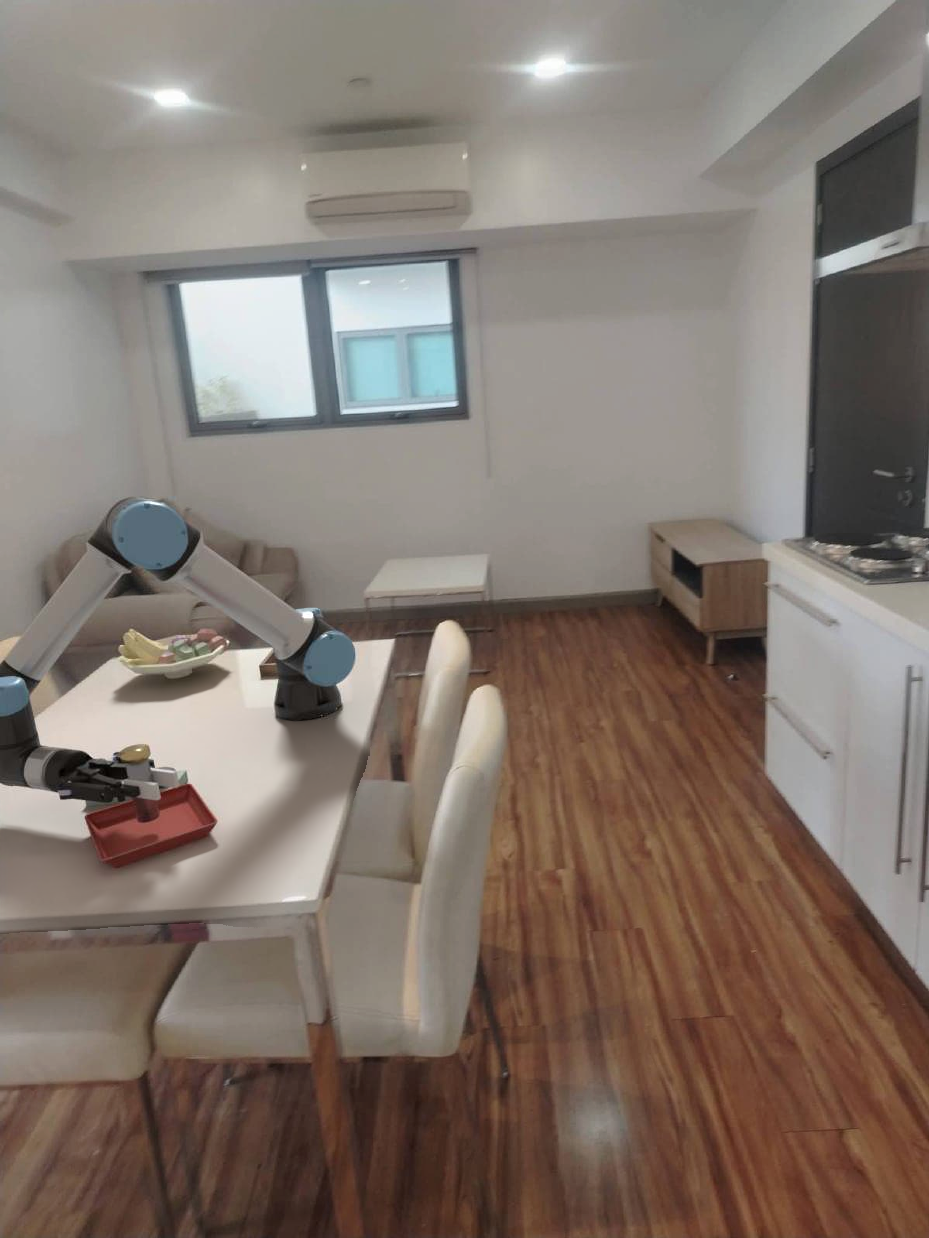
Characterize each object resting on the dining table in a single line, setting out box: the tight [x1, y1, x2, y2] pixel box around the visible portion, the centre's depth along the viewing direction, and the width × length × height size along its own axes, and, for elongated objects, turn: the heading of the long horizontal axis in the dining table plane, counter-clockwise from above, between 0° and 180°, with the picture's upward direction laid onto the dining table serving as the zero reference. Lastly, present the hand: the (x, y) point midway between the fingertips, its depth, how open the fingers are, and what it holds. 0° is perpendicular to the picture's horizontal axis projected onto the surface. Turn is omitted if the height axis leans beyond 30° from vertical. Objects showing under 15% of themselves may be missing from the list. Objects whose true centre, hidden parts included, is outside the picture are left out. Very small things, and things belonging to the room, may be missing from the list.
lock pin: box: [119, 743, 160, 823], centre depth 131 cm, size 5×5×12 cm
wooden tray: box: [258, 648, 277, 677], centre depth 214 cm, size 16×18×3 cm
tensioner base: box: [84, 766, 189, 807], centre depth 147 cm, size 16×8×4 cm, turn 88°
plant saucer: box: [84, 783, 218, 868], centre depth 133 cm, size 18×18×3 cm
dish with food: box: [117, 628, 230, 679], centre depth 212 cm, size 28×28×14 cm
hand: (166, 785), depth 128 cm, fingers closed on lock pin, 3 cm apart
